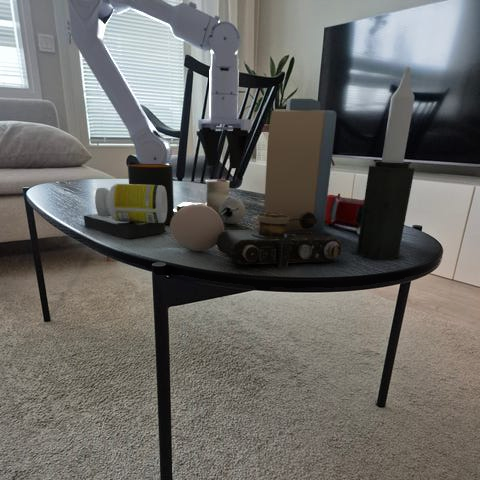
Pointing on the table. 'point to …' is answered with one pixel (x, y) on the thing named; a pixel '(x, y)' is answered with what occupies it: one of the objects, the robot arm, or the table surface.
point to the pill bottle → (132, 203)
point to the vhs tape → (123, 226)
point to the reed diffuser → (232, 211)
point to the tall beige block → (299, 161)
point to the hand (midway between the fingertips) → (223, 167)
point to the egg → (196, 227)
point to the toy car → (344, 211)
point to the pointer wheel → (216, 192)
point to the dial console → (194, 204)
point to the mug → (154, 181)
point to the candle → (389, 183)
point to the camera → (279, 242)
